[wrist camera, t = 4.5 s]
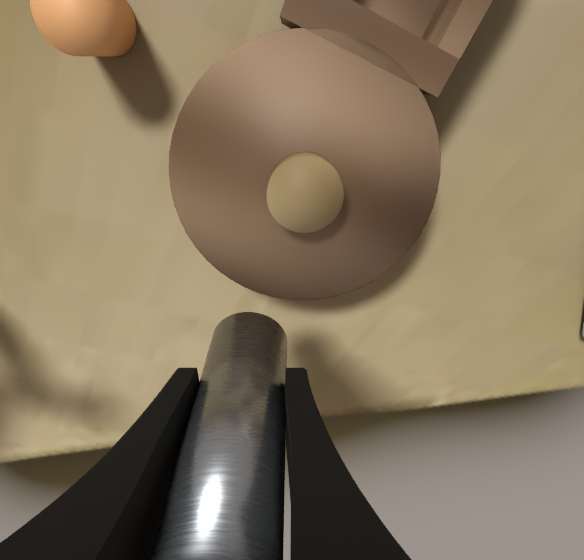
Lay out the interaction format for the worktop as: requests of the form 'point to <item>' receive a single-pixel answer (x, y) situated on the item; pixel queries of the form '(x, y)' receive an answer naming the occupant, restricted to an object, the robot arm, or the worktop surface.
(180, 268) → the worktop surface
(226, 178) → the wooden disc with frame
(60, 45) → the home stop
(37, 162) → the worktop surface
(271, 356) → the steel pin
